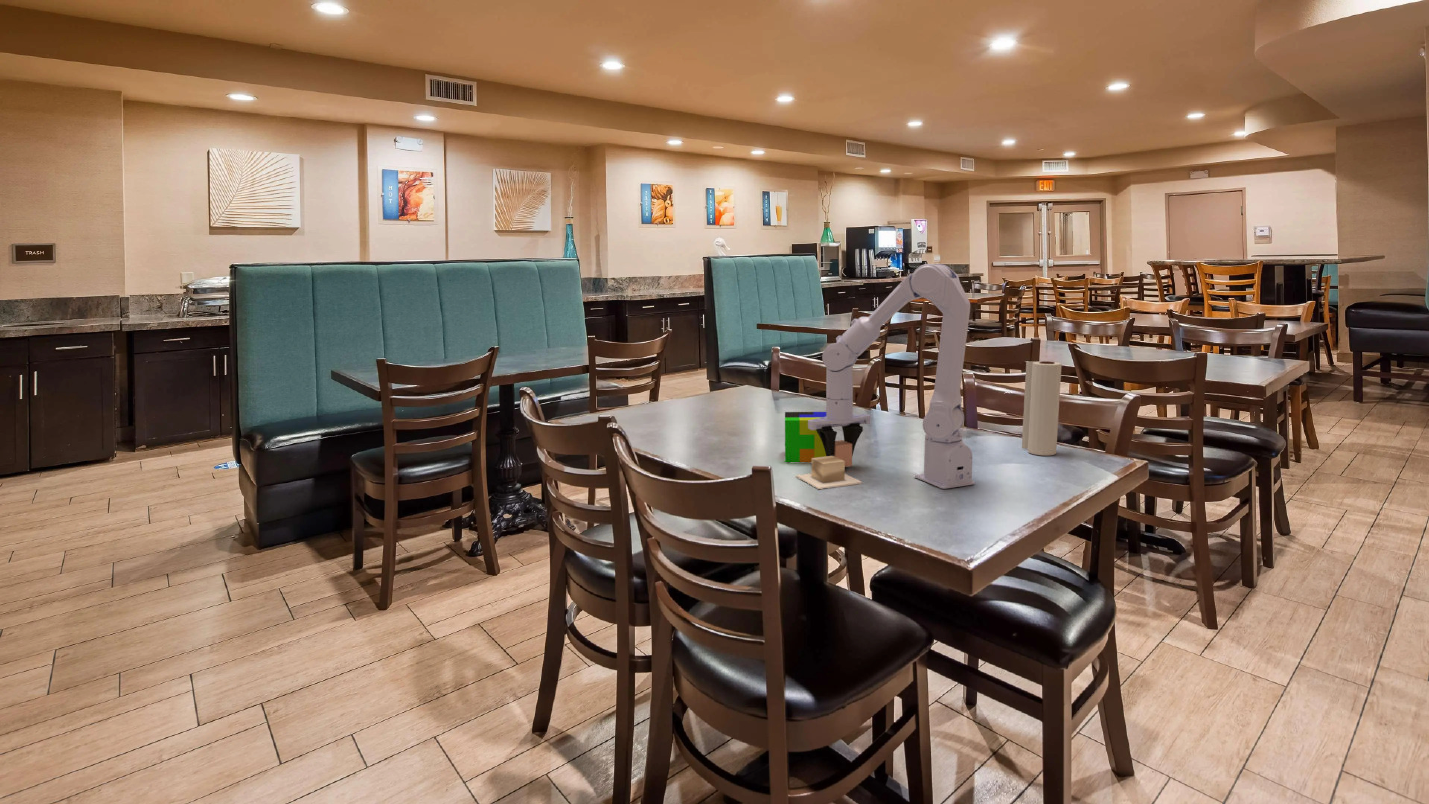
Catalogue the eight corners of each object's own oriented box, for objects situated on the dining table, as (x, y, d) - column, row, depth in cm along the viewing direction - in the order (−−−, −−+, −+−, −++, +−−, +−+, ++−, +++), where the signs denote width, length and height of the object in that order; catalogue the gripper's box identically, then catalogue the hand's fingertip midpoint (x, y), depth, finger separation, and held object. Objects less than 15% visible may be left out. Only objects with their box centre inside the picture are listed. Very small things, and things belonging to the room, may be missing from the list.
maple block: (844, 479, 151) (844, 461, 151) (823, 482, 150) (823, 463, 149) (832, 473, 156) (832, 455, 155) (811, 476, 154) (811, 458, 153)
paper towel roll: (1060, 456, 168) (1066, 363, 164) (1034, 456, 168) (1039, 364, 164) (1047, 448, 175) (1052, 359, 171) (1021, 449, 175) (1026, 360, 171)
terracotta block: (851, 465, 161) (852, 443, 160) (836, 468, 159) (836, 445, 158) (842, 461, 164) (842, 440, 164) (826, 463, 163) (826, 441, 162)
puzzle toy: (826, 452, 176) (827, 411, 175) (829, 463, 167) (829, 420, 165) (785, 452, 177) (784, 411, 176) (785, 463, 168) (784, 420, 166)
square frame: (861, 483, 150) (861, 481, 150) (818, 489, 146) (818, 487, 146) (836, 471, 159) (836, 469, 159) (795, 477, 156) (795, 475, 155)
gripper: (858, 392, 165) (858, 450, 168) (801, 397, 160) (801, 458, 163) (875, 397, 159) (875, 457, 161) (816, 402, 154) (817, 465, 156)
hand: (839, 458), depth 162 cm, fingers closed on terracotta block, 4 cm apart
